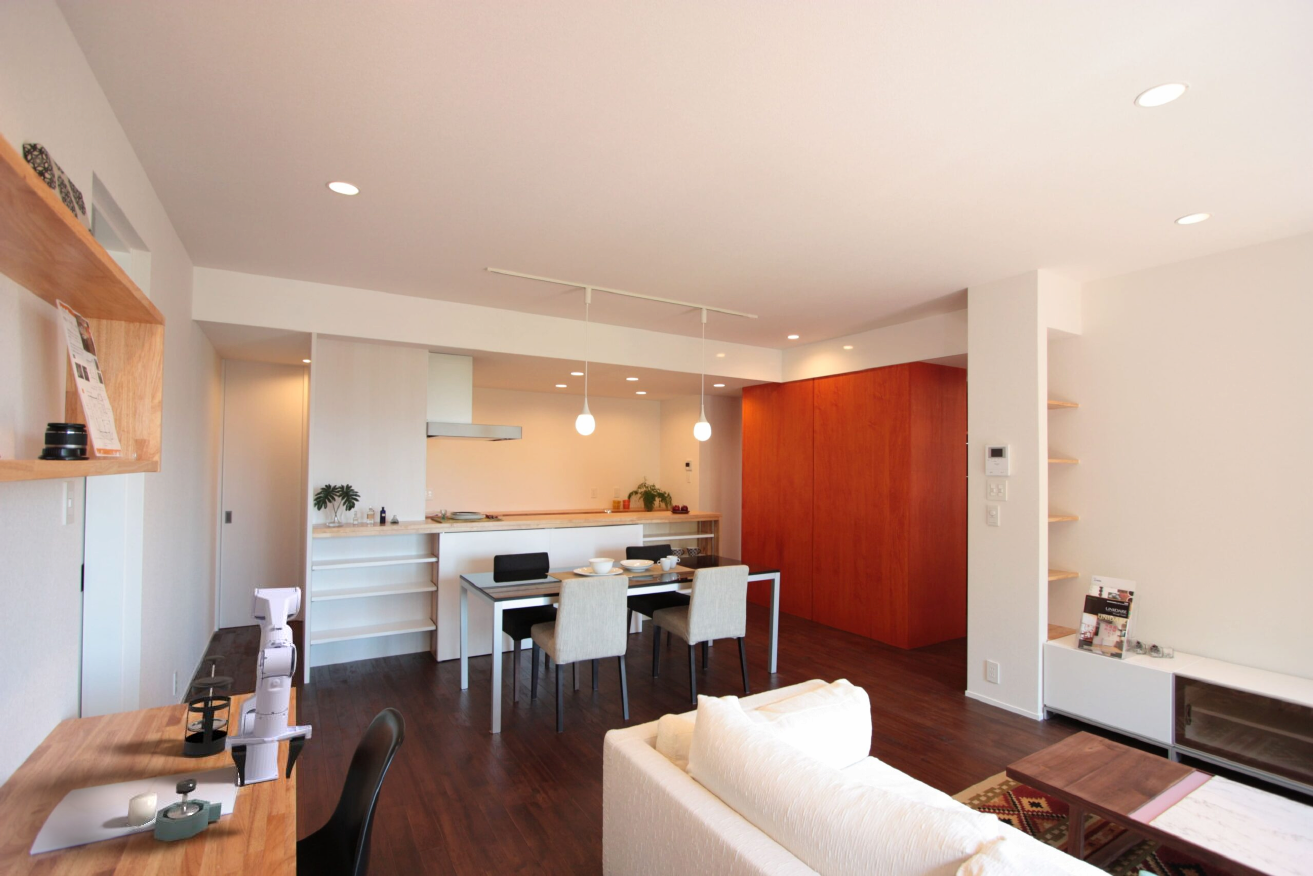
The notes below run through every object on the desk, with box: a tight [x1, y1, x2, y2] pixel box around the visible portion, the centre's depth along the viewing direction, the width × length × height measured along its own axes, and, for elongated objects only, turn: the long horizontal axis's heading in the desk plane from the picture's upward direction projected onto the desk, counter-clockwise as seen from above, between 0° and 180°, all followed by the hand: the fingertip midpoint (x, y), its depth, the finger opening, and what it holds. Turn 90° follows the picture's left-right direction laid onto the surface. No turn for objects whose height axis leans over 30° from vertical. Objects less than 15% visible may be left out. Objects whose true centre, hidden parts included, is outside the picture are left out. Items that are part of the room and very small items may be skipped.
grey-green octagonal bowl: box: [153, 798, 223, 842], centre depth 125 cm, size 8×10×4 cm
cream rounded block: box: [126, 792, 158, 827], centre depth 127 cm, size 4×4×4 cm
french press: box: [181, 655, 234, 759], centre depth 161 cm, size 12×9×23 cm
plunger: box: [167, 778, 199, 819], centre depth 125 cm, size 5×5×6 cm
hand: (265, 780), depth 125 cm, fingers open, 7 cm apart
